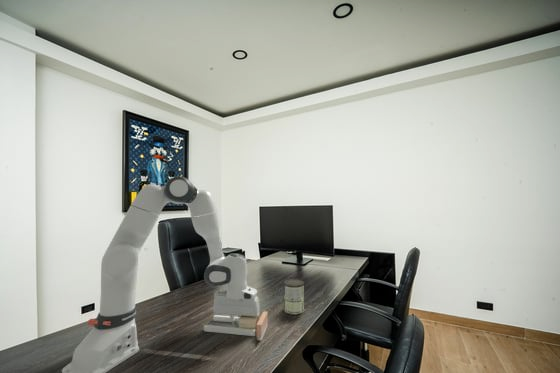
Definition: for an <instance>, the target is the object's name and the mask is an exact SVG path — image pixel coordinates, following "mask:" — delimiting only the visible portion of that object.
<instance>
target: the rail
mask: <svg viewBox="0 0 560 373" xmlns="http://www.w3.org/2000/svg"><path fill="white" fill-rule="evenodd" d="M268 317H269V312H268V311H266V310H265V311H264V310H263V312H262V313H261V315H260V316H259V321H258V323H257V331H256V333H255V329H245V328H239V325H232V320H231V318H230V315H222V314H215V315H213V318H212V320H211V322H208V324H205V325H204V326H203V330H201V332H202V333H204V332H205V333H212V334H221V335H224V334H225V335H230V336H231V335H232V336H233V335H235V336H239V337H241V336H242V337H244V336H245V337H253V338H256V341H262V340H263V339H264V338H263V337H264V334H265V332H266V330H267V328H268V325H269V324H268V323H269V321H268V319H269V318H268ZM234 318H235V319H239V317H238V316H234Z"/></svg>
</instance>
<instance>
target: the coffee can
mask: <svg viewBox="0 0 560 373" xmlns="http://www.w3.org/2000/svg"><path fill="white" fill-rule="evenodd" d="M304 285H305V282H304V281H303V280H302V279H297V278H290V279H285V280H284V281H283V288H284V289H283V290H284V291H283V292H284V294H283V295H284V296H283V303H284V304H283V307H284V308H283V310H284V312H285V313H286V314H289V315H299V314H302V313H304V310H305V309H304V305H305V302H304V289H305V288H304Z"/></svg>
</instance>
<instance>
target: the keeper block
mask: <svg viewBox="0 0 560 373" xmlns="http://www.w3.org/2000/svg"><path fill="white" fill-rule="evenodd" d="M259 319H260V312H259V313H258V315H257V316H245V315H242V316H241V318H240V319H239V325H238V328H245V329H255V333H256V334H257V323H258V321H259Z"/></svg>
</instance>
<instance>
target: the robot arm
mask: <svg viewBox="0 0 560 373" xmlns="http://www.w3.org/2000/svg"><path fill="white" fill-rule="evenodd" d="M167 204H171V205H172V204H173V205H182V204H184V205H186V206H187V207H188V209H189V214H190V217H191V222H192V226H193V228H194V231H195V233H196V234H198V235H199V236H201V237H202V238H203V240H205V242H206V245H207V246H206V247H207V249H208V255H209V259H210V260H209V264H208V266H207V267H206V269H205V270H204V274H203V278H204V282H205V283H206V284H208V285H209V286H211V287H219V286H225V285H226V290H216V291H215V292H214V294H213V299H214V301H213V306H212V310H213V313H214V314H219V315H229V316H230V318H231V320H232V324H231V326H233V325H234V326H235V325H236V326H237V325H238V326H239V319H240V318H241V316H242V315H245V316H257V315H258V313H259V314H260V300H259V297H258V296H257V294H258V290H257V289H256V288H254V287H252V286H248V282H247V275H248V263H247V262H248V261H247V258H246V256H245V255H244V254H241V253H236V252H235V253H233V252H232V253H229V254H228V255H227V256H226V255H225V253H224V250H223V246H222V241H221V237H220V228H219V227H220V225H219V216H218V210H217V206H216V203H215V200H214V198H213V195H212V193H211V192H210V191H208V190H204V189H197V187H196V186H195V185H194V183H192V182H191V181H190V180H189V179H188V178H187V177H185V176H180V175H179V176H172V177H171V178H169V179H168V180H167V181H166V182H165V185H157V184H153V183H149V184H145V185H144V186H143V187H142V189H140V191H139V192H138V193H137V195H136V196H135V197H134V199H133V200H132V202H131V204H130V206H129V208H128V210H127V212H126V213H125V216H124V217H123V219H122V221H121V223H120V224H119V227H118V228H117V230H116V232H115V234H114V236H113V237H112V239H111V241H110V243H109V244H108V246H107V249H106V251H105V252H104V255H103V256H102V259H101V263H100V264H101V265H100V266H101V269H100V270H101V271H100V301H99V312H98V314H97V316H96V318H95V319H94V318H89V319H88V321H87V326H91V327H93V328H92V329H91V330H90V332H89V331H88V332H89V333H87V335H86V336H85V337H84V338H83V340H82V341H81V342H80V343H79V344H78V345H77V346H76V348H75V349H74V351H73V354H72V360H71V361H70V363H68V364H66V366H63V368H62V369H61V372H62V373H107V372H109V371H110V370H112V369H113V368H115V367H116V366H118V365H119V364H122V363H123V362H125V361H126V360H127V359H130V357H132V356H134V355H136V354H137V353H139V352H140V347H139V345H138V344H139V341H138V332H137V330H138V329H137V324H136V317H137V306H136V294H137V292H136V291H137V282H138V281H137V280H138V267H139V253H140V251H141V250H142V248H143V246H144V244H145V243H146V241H147V240H148V238H149V236H150V234H151V233H152V231H153V228H154V227H155V225H156V222H157V221H158V219H159V216H160V215H161V212H162V210H163V209H164V207H165V206H166V205H167ZM235 315H236V316H237V317H239V319H235V318H234V317H235Z"/></svg>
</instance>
